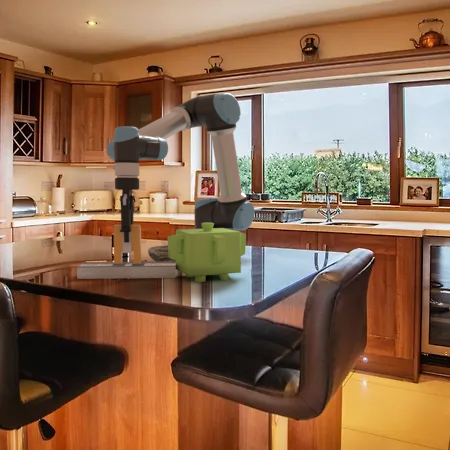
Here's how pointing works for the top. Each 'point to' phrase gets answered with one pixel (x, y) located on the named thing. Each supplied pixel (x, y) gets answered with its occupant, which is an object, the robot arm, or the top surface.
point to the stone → (160, 254)
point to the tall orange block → (135, 243)
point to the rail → (126, 270)
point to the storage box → (207, 251)
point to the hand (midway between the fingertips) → (127, 251)
